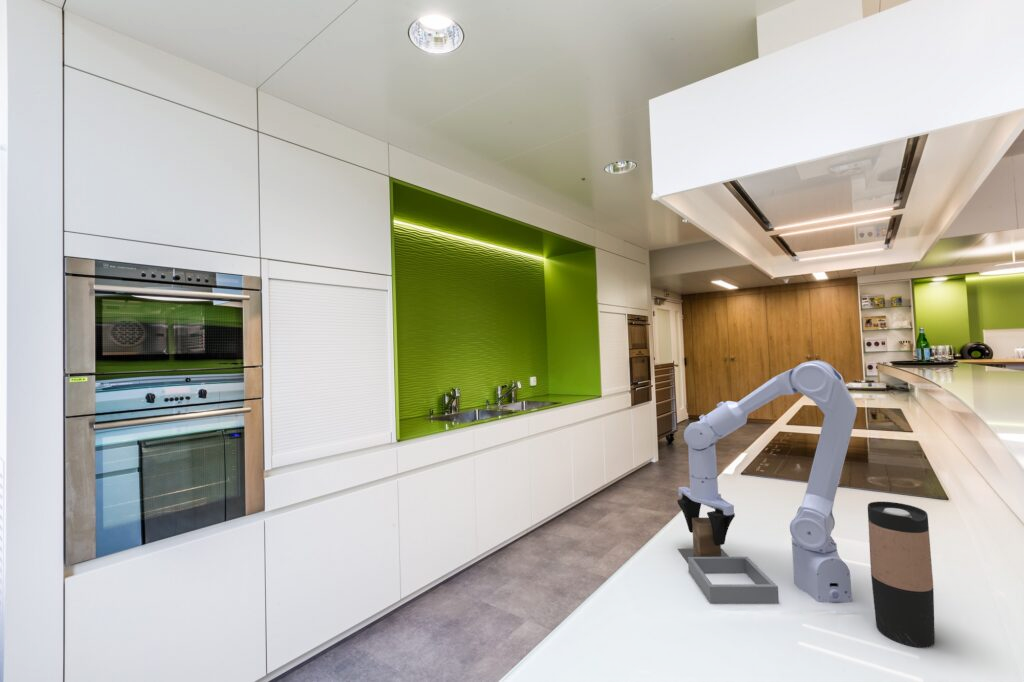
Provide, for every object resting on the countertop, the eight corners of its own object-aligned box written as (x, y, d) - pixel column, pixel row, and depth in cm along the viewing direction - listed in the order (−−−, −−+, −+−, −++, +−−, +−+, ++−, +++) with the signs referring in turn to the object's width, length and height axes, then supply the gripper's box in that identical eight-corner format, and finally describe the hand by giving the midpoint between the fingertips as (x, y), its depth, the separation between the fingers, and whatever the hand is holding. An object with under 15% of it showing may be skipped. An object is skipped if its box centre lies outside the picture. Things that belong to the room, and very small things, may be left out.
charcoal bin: (779, 609, 80) (777, 586, 80) (710, 609, 81) (709, 586, 81) (748, 576, 92) (747, 556, 92) (688, 576, 93) (687, 556, 93)
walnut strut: (721, 562, 96) (719, 524, 96) (700, 563, 96) (698, 525, 97) (713, 553, 101) (711, 517, 101) (693, 554, 101) (692, 517, 101)
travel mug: (874, 614, 78) (867, 498, 78) (934, 630, 73) (926, 506, 73) (874, 637, 72) (866, 511, 72) (939, 655, 67) (930, 520, 68)
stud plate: (741, 573, 93) (739, 550, 93) (692, 574, 94) (690, 550, 94) (721, 552, 103) (720, 531, 103) (677, 553, 104) (676, 532, 104)
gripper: (743, 481, 94) (747, 547, 93) (694, 466, 107) (697, 523, 107) (717, 486, 91) (720, 553, 91) (670, 469, 105) (672, 528, 105)
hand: (706, 537), depth 99 cm, fingers open, 7 cm apart
